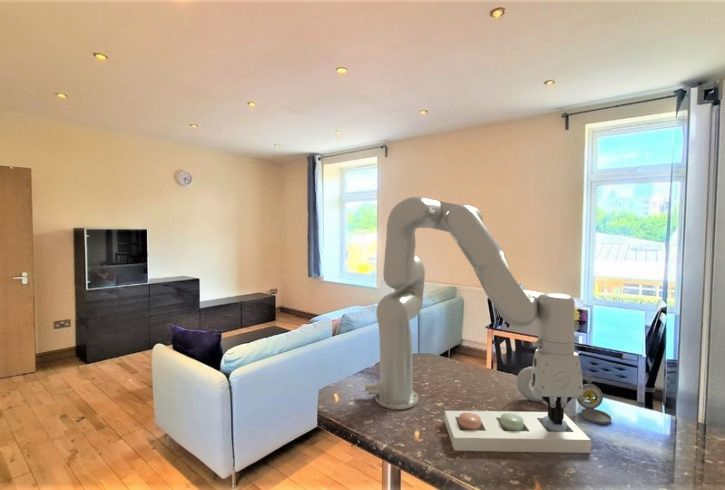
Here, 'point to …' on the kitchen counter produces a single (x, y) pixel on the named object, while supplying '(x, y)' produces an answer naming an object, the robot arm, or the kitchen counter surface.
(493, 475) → the kitchen counter surface
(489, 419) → the console
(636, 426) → the kitchen counter surface
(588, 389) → the pocket watch
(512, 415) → the sage button
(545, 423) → the slate button
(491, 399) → the kitchen counter surface
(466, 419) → the terracotta button
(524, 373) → the donut
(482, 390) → the kitchen counter surface
